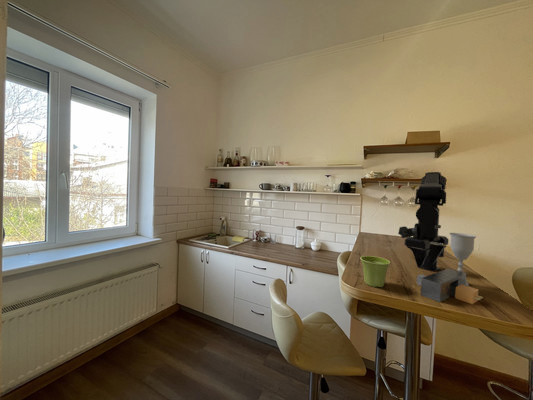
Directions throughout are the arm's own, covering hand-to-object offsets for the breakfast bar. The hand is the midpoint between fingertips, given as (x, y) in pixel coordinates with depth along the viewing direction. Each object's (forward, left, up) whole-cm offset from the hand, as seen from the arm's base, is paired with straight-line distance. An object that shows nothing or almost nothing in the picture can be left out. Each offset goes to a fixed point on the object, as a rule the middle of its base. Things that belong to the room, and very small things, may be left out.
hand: (425, 265), depth 73 cm
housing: (0, +6, -7) cm, 9 cm away
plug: (0, +6, -7) cm, 9 cm away
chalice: (-15, +5, -7) cm, 18 cm away
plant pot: (+16, -9, -7) cm, 20 cm away
